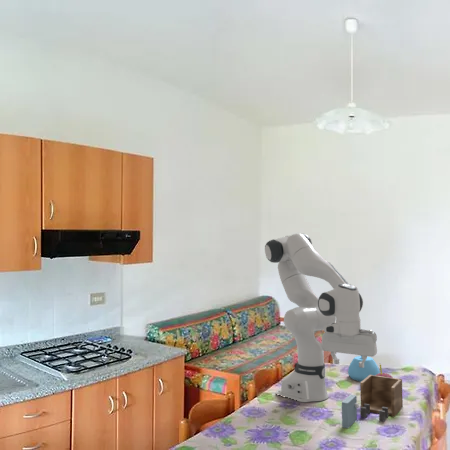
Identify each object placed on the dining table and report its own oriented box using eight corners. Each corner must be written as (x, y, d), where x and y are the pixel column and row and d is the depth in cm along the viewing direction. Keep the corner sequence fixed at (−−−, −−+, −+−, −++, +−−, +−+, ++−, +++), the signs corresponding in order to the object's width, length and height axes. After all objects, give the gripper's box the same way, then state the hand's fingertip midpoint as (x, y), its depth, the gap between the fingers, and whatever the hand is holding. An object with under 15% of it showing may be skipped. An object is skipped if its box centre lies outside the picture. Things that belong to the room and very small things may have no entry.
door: (351, 429, 173) (350, 403, 173) (342, 427, 175) (341, 402, 175) (360, 420, 181) (359, 396, 181) (351, 418, 183) (350, 394, 183)
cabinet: (355, 415, 185) (355, 386, 186) (370, 401, 202) (369, 374, 202) (390, 422, 178) (389, 392, 179) (402, 406, 195) (402, 379, 195)
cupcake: (383, 393, 212) (383, 365, 212) (369, 388, 219) (369, 361, 220) (398, 390, 216) (397, 363, 216) (383, 385, 223) (383, 359, 224)
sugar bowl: (357, 383, 226) (357, 359, 227) (342, 375, 241) (342, 351, 241) (386, 381, 230) (385, 356, 230) (369, 372, 244) (369, 349, 245)
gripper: (378, 329, 176) (379, 367, 176) (325, 324, 187) (326, 360, 187) (374, 332, 171) (374, 371, 171) (319, 327, 182) (320, 363, 182)
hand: (349, 365), depth 179 cm, fingers open, 8 cm apart
